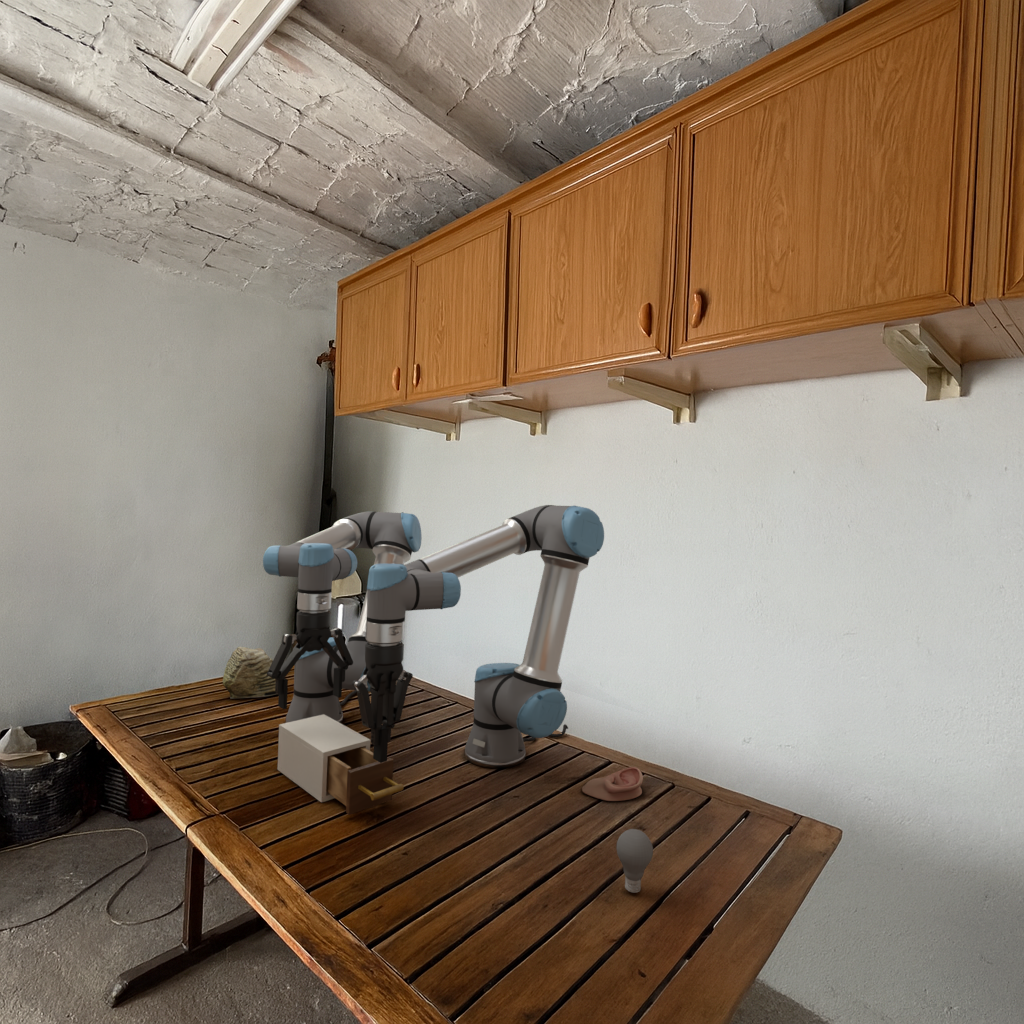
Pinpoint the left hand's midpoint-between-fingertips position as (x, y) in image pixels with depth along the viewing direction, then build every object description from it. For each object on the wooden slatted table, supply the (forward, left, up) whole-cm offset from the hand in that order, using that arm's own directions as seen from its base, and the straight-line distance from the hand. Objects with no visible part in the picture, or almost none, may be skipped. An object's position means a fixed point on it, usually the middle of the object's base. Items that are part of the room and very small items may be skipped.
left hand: (310, 701), depth 147 cm
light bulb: (-10, +79, -16) cm, 81 cm away
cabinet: (+1, +6, -16) cm, 17 cm away
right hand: (+3, +29, -4) cm, 29 cm away
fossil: (-19, -58, -16) cm, 63 cm away
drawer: (+2, +20, -15) cm, 25 cm away
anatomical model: (-40, +58, -16) cm, 72 cm away
